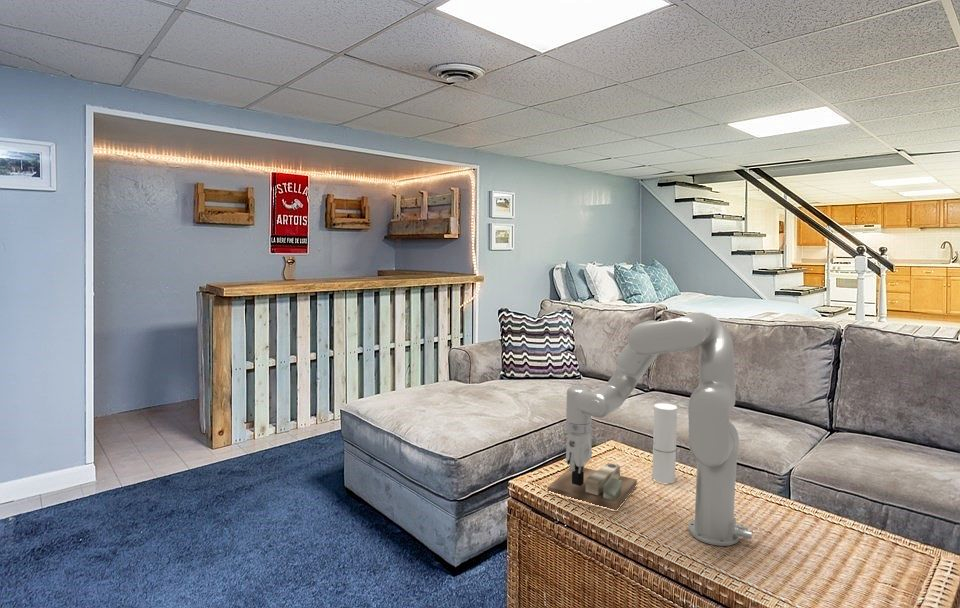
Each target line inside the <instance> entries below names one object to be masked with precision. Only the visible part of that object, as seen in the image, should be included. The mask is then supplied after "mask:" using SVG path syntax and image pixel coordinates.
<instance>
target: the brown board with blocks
mask: <svg viewBox="0 0 960 608" xmlns="http://www.w3.org/2000/svg"><path fill="white" fill-rule="evenodd" d="M597 471H598V470H597V469H592V468H587V467H584V471H582V472H584V483H583V484H582V485H581V486H579V485H575V484H572V471H570V470H569V468H568V469H566V471H565V472H563V473H562V474H561V475H560V476H558V477H557V478H556V479H555V480H553V482H551V483H550V484H549V485H548V486H547V492H548V491H551V492H554V493H558V494H561V495H564V496H567V497H571V498H574V499H578V500H582V501H586V502H589V503H592V504H595V505H599V506H603V507H607V508H610V509H614V510H617V509H618V508H619V507H620V505H621V504H622V503H623V502H624V501H625V499H626V498H627V497H628V495H629V494H630V493H631V492H632V490H633V489H634V488H635V486H636V485H637V484H638V483H637V482H638V480H637V479H635V478H633V477H627V476H623V475H620V478H619V479H614V478H610V479H609V480H608V481H607V482H606V483H605V484H604V491H603V492H601V493H600V494H599V495H594V494H591V493H588V492H586V479H587V478H588V477H590V476H591V475H592V474H594V473H595V472H597ZM637 486H638V485H637ZM635 489H636V488H635ZM632 493H633V492H632ZM632 493H631V494H632ZM628 498H629V497H628ZM628 498H627V499H628ZM625 502H626V501H625ZM625 502H624V503H625ZM620 508H621V507H620Z"/></svg>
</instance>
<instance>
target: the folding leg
mask: <svg viewBox="0 0 960 608" xmlns="http://www.w3.org/2000/svg"><path fill="white" fill-rule="evenodd" d="M620 476H621V465H619V464H615V463H610V462H608V463H606V464H605V465H603V466H602V467H601V468H600V469H598V470H597V472H595V473H594V474H592V475H591V476H590V477H588V478H587V479H586V492H588V493H591V494H594V495H599V494H600V493H601V492H603V491H604V484H605V483H606V482H607V481H608V480H609V479H610V478H614V479H619V478H620Z"/></svg>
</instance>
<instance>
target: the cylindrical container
mask: <svg viewBox="0 0 960 608" xmlns="http://www.w3.org/2000/svg"><path fill="white" fill-rule="evenodd" d="M677 427H678V406H677V405H675V404H671V403H664V402H663V403H662V402H661V403H660V402H659V403H655V404H654V406H653V433H652V434H653V435H652V436H653V440H652V441H653V442H652V468H651V469H652V473H651V477H653V479H655V480H656V481H659V482H662V483H672V482H674V481H676V456H677V455H676V454H677ZM653 479H652V480H653ZM674 483H675V482H674Z"/></svg>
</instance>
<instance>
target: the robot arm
mask: <svg viewBox="0 0 960 608" xmlns="http://www.w3.org/2000/svg"><path fill="white" fill-rule="evenodd" d="M696 348H698V349H699V359H698V370H699V372H698V373H699V375H698V376H699V377H698V381H699V382H698V386H697V388H695V389H694V390H693V392H692V393H691V395H690V397H689V399H688V410H687V413H688V444H689V450H690V452H691V455H692V457H693V458H694V459H695V460H696V461H697V462H696V475H695V476H696V478H695V481H696V482H695V502H694V504H695V505H694V506H695V507H694V509H695V511H694V519H693V520H691V521H690V522H689V523H688V527H687V528H688V532H689V534H690V535H691V536H692V537H694V538H695V539H696V540H698V541H700V542H702V543H705V544H709V545H713V546H718V547H720V546H721V547H727V546H733V545H734V544H737V543H738V542H739V541H740V537H742V538H745V539H749V540H752V535H753V532H752V531H751V530H749V527H748V526H744V525H739V523H737V518H736V517H735V516H734V515H735V492H736V477H737V463H738V454H739V443H740V442H739V441H740V439H739V438H740V437H739V433H738V430H737V428H736V426H735V425H734V424H733V423H732V422H731V421H730V413H731V411H732V410H734V408H735V405H736V399H737V398H736V381H735V380H736V378H735V377H736V375H735V373H736V371H735V351H734V343H733V338H732V336H731V333H730V331H729V329H728V328H727V326H725V324H724V323H723V322H721V321H720V320H719V319H718V318H716V317H714V316H713V315H711V314H708V313H705V312H692V313H689V314H686V315H684V316H681V317H676V318H672V319H666V320H661V321H658V320H654V319H652V320H651V319H649V320H647V321H646V320H645V321H643V322H640V323H638V324H635V325H634V326H633V327H632V328H631V329H630V330H629V332H628V336H627V343H626V345H625V347H624V348H623V349H622V350H621V352H620V353H619V354H618V356H617V357H616V359H615V363H616V365H617V366H616V369H615V371H614V373H613V375H611V378H609V380H608V381H607V383H606V384H605V385H604V386H603V387H601V388H599V389H597V390H594V391H592V389H591V388H590V387H588V386H585V385H572V386H569V387H568V388H567V389H566V409H565V410H566V413H565V414H566V417H565V421H566V425H565V426H566V427H565V430H566V432H567V437H566V445H565V446H566V447H565V462H566V465H568V466H569V468H568V469H569V470H570V471H572V484H575V485H579V486H581V485H582V484H583V483H584V472H582V471H584V468H585V465H586V464H587V463H588V462H589V461H590V460H591V459H592V458H593V457H592V450H593V447H592V434H591V433H592V417H593V418H597V419H599V418H601V419H602V418H605V417H608V415H611V413H613V412H614V411H616V410H617V409H619V408H620V407H621V406H622V405H623V404H624V402H625V401H626V400H627V399H628V397H629V396H630V395H631V393H632V392H633V391H634V390H635V388H636V386H637V385H638V383H639V382H640V381H641V379H642V377H643V375H644V374H645V373H646V372H647V370H648V369H649V367H650V366H651V365H652V363H653V362H654V361H655V359H656V358H657V357H658V356H659V355H662V354H663V355H664V354H668V353H676V352H677V353H678V352H685V351H689V350H693V349H694V350H695V349H696Z"/></svg>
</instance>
